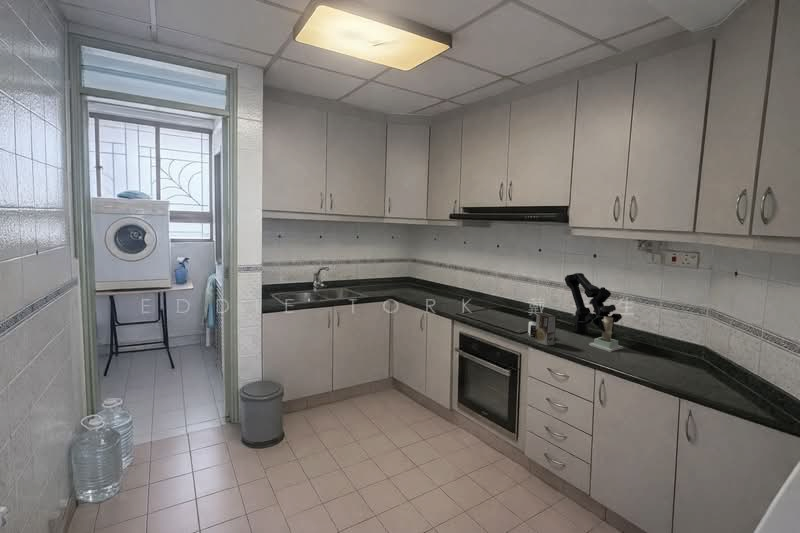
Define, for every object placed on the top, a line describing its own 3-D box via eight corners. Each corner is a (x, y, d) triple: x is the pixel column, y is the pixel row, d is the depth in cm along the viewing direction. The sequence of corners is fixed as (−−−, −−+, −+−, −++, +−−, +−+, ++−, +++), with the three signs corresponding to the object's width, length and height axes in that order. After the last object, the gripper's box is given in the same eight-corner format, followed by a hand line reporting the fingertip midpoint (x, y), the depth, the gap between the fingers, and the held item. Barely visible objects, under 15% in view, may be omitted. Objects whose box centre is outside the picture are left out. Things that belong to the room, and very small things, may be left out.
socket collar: (589, 345, 220) (589, 338, 219) (601, 342, 226) (601, 335, 226) (610, 351, 210) (611, 344, 209) (622, 348, 216) (623, 341, 216)
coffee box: (555, 344, 219) (557, 316, 217) (546, 345, 217) (548, 317, 215) (542, 339, 228) (545, 312, 225) (534, 340, 225) (536, 313, 223)
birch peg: (601, 342, 217) (603, 317, 215) (602, 340, 221) (604, 316, 219) (610, 344, 215) (612, 319, 213) (610, 342, 218) (613, 317, 217)
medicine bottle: (529, 336, 233) (531, 316, 231) (527, 333, 240) (529, 313, 238) (542, 337, 232) (544, 317, 230) (540, 333, 239) (541, 314, 237)
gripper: (589, 299, 218) (599, 324, 208) (621, 299, 219) (632, 324, 210) (580, 309, 227) (589, 334, 217) (611, 309, 228) (621, 334, 219)
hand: (608, 331), depth 216 cm, fingers closed on birch peg, 4 cm apart
